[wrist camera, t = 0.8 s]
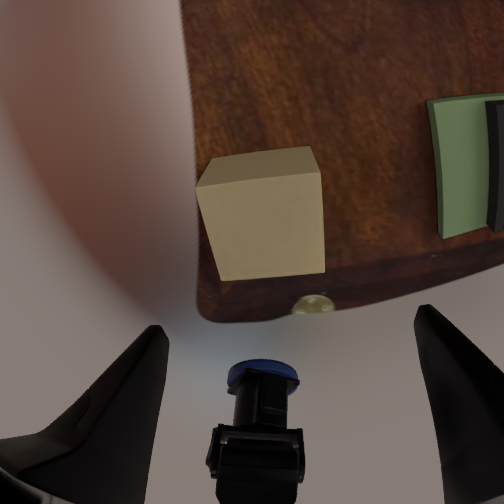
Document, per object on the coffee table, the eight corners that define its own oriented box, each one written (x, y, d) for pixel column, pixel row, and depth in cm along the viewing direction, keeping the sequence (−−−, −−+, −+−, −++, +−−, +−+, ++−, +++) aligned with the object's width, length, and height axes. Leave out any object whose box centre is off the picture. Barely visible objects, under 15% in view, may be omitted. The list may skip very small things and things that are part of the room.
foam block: (316, 230, 20) (325, 273, 16) (230, 238, 21) (221, 281, 17) (310, 145, 17) (320, 172, 13) (211, 158, 18) (193, 188, 14)
